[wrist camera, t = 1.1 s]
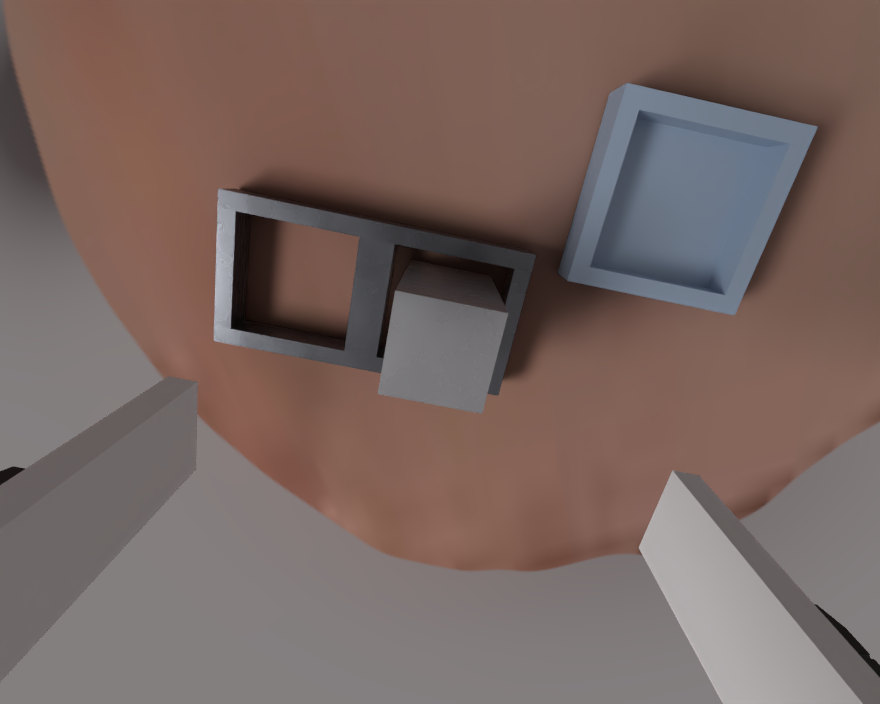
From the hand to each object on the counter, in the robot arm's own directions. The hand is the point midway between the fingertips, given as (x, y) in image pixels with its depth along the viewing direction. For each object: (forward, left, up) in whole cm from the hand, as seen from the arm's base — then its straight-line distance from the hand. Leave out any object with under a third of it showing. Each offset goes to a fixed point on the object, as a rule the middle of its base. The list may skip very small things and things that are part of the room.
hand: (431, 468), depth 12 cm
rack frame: (0, -4, -17) cm, 18 cm away
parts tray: (-9, +12, -17) cm, 23 cm away
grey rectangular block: (0, 0, -17) cm, 17 cm away
